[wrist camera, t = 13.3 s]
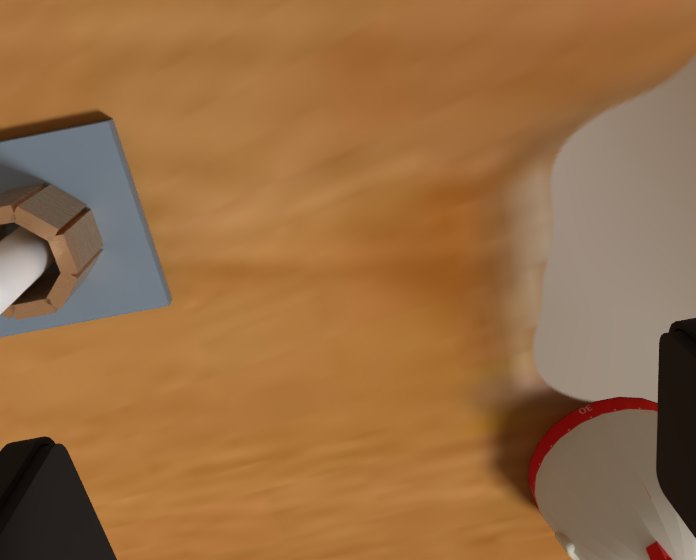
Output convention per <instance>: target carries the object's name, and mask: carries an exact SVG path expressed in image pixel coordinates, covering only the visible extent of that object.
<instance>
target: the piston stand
mask: <svg viewBox="0 0 696 560" xmlns="http://www.w3.org/2000/svg"><path fill="white" fill-rule="evenodd" d="M41 183H46V186H49V185H50V184H52V185H54V186H56V187H58V188H59V189H61V190H63V191H65V192H66V193H68V194H70V195H71V196H73V197H75V198H77V199H78V200H80V201H82V202H84V203H85V204H87V206H86V208H85V210H90V209H91V210H92V213H93V215H94V218H95V221H96V224H97V226H98V229H99V232H100V235H101V237H102V240H103V243H104V245H103V246H102V247H101V248H102V249H104V250H103V251H102V253H101V255H100V256H99V258H98V260H97V262H96V263H95V265H94V267H93V269H92V270H91V272H90V274H89V276H88V277H87V279H86V280H85V281H84V282H83V283H82V284H81V286H80V287H79V288H78V289H77V290H76V292H75V293H74V294H73V295H72V296H71V297H70V299H69V300H68V301H67V302H66V303H65V305H64V306H63V307H62V308H61V309H58V310H57V312H56V313H52V314H46V315H41V316H36V317H30V318H25V319H20V320H16V319H15V317H14V315H13V317H12V318H11V319H9V318H7V317H5V316H3V315H1V313H2V312H4V311H5V310H6V309H7V308H8V307H9V306H10V305H11V304H12V303H13V302H14V301H15V300H16V299H17V298H18V297H19V296H20V295H21V294H22V293H23V292H24V291H25V290H26V289H27V288H28V287H29V286H30V285H31V284H32V283H33V282H34V281H35V280H36V279H37V278H39V277H40V276H41V275H42V274H43V273H50V272H55V271H60V270H59V267H58V265H57V262H56V260H55V257H54V255H53V253H52V250H51V248H50V245H49V243H48V241H47V240H45V239H43V238H42V237H40V236H38V235H36V234H34V233H33V232H31V231H29V230H27V229H25V228H23V227H22V226H20V225H18V224H16V223H14V222H12V223H7V225H6V227H5V228H4V230H5V232H6V235H7V236H6V237H5V238H4V239H2V240H1V241H0V337H4V336H10V335H15V334H20V333H26V332H31V331H36V330H42V329H47V328H52V327H58V326H63V325H69V324H74V323H79V322H85V321H90V320H95V319H101V318H106V317H111V316H117V315H122V314H127V313H133V312H138V311H143V310H149V309H154V308H160V307H165V306H169V305H170V303H171V301H172V298H171V295H170V292H169V289H168V286H167V283H166V280H165V276H164V273H163V270H162V267H161V264H160V261H159V258H158V255H157V252H156V249H155V246H154V243H153V240H152V237H151V234H150V231H149V228H148V225H147V222H146V219H145V216H144V213H143V210H142V207H141V204H140V200H139V197H138V194H137V191H136V188H135V185H134V182H133V179H132V176H131V173H130V170H129V167H128V164H127V161H126V158H125V155H124V152H123V149H122V146H121V143H120V140H119V137H118V134H117V131H116V128H115V125H114V121H113V119H109V120H104V121H99V122H94V123H89V124H84V125H79V126H74V127H68V128H63V129H58V130H53V131H48V132H43V133H38V134H33V135H28V136H22V137H17V138H12V139H7V140H2V141H0V194H2V193H3V192H5V191H7V190H10V189H15V188H20V187H25V186H31V185H36V184H41Z"/></svg>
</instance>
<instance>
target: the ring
mask: <svg viewBox="0 0 696 560" xmlns="http://www.w3.org/2000/svg"><path fill="white" fill-rule="evenodd" d="M86 206H87V204H85V203H84V202H82V201H80V200H78V199H77V198H75V197H73V196H71V195H70V194H68V193H66V192H65V191H63V190H61V189H59V188H58V187H56V186H54V185H52V184H50V185H49V186H46V183H41V184H36V185H31V186H25V187H20V188H15V189H10V190H7V191H5V192H3V193H2V194H0V241H1V240H2V239H4V238H5V237H6V236H7V235H6V232H5V230H4V228H5V227H6V225H7V223H12V222H14V223H16V224H18V225H20V226H22V227H23V228H25V229H27V230H29V231H31V232H33V233H34V234H36V235H38V236H40V237H42V238H43V239H45V240H47V241H48V243H49V245H50V248H51V250H52V253H53V255H54V257H55V260H56V262H57V265H58V267H59V270H60V271H55V272H50V273H43V274H42V275H41V276H40V277H39V278H37V279H36V280H35V281H34V282H33V283H32V284H31V285H30V286H29V287H28V288H27V289H26V290H25V291H24V292H23V293H22V294H21V295H20V296H19V297H18V298H17V299H16V300H15V301H14V302H13V303H12V304H11V305H10V306H9V307H8V308H7V309H6V310H5V311H4V312H2V313H1V315H3V316H5V317H7V318H9V319H11V318H12V317H13V315H14V317H15V319H16V320H20V319H25V318H30V317H36V316H41V315H46V314H52V313H56V312H57V310H58V309H61V308H62V307H63V306H64V305H65V303H66V302H67V301H68V300H69V299H70V297H71V296H72V295H73V294H74V293H75V292H76V290H77V289H78V288H79V287H80V286H81V284H82V283H83V282H84V281H85V280H86V279H87V277H88V276H89V274H90V272H91V270H92V269H93V267H94V265H95V263H96V262H97V260H98V258H99V256H100V255H101V253H102V251H103V250H104V249H102V248H101V247H102V246H103V245H104V243H103V240H102V237H101V235H100V232H99V229H98V226H97V224H96V221H95V218H94V215H93V213H92V210H91V209H90V210H85V208H86Z"/></svg>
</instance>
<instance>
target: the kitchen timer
mask: <svg viewBox="0 0 696 560" xmlns="http://www.w3.org/2000/svg"><path fill="white" fill-rule="evenodd" d="M657 413H658V403H656V402H653V401H650V400H646V399H643V398H632V397H616V398H610V399H605V400H600V401H594V403H591V404H589V405H587V406H584V407H582V408H580V409H578V410H575V411H573V412H571V413H570V414H568V415H567V416H566V417H564V418H563V419H562V420H560V421H559V422H558V423H556V424H555V425H554V426H552V428H551V429H550V430H549V431H548V432H547V434H546V435H545V436H544V437H543V438H542V440H541V441H540V442H539V443H538V445H537V447H536V450H535V452H534V454H533V457H532V459H531V461H530V468H529V484H530V488H531V491H532V494H533V498H534V500H535V502H536V504H537V507H538V509H539V511H540V513H541V514H542V516H543V518H544V519H545V520H546V522H547V523H548V524H549V526H550V527H551V528H552V529H553V531H554V532H555V537H556V538H557V540H558V541H559V542H560V544H561V545H562V546H563V548H564V549H565V551H566V552H567V553H568V555H569V556H570V557H571V558H572V559H573V560H696V538H695V537H694V536H693V534H692V533H691V531H690V530H689V529H688V527H687V526H686V525H685V523H684V522H683V520H682V519H681V518H680V516H679V515H678V513H677V512H676V511H675V509H674V508H673V507H672V505H671V504H670V502H669V501H668V500H667V498H666V497H665V495H664V494H663V492H662V490H661V488H660V485H659V482H658V479H657V474H656V452H657Z"/></svg>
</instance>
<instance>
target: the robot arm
mask: <svg viewBox="0 0 696 560" xmlns="http://www.w3.org/2000/svg"><path fill="white" fill-rule="evenodd" d="M656 474H657V479H658V482H659V485H660V488H661V490H662V492H663V494H664V495H665V497H666V498H667V500H668V501H669V502H670V504H671V505H672V507H673V508H674V509H675V511H676V512H677V513H678V515H679V516H680V518H681V519H682V520H683V522H684V523H685V525H686V526H687V527H688V529H689V530H690V531H691V533H692V534H693V536H694V537H695V538H696V318H693V319H688V320H681V321H676V322H674V323H673V324H672V325H671V327H670V329H669V333H664V334H663V335H661V338H660V343H659V375H658V413H657V452H656ZM0 560H117V559H116V557H115V554H114V552H113V550H112V548H111V546H110V543H109V541H108V539H107V537H106V535H105V532H104V530H103V528H102V526H101V524H100V521H99V519H98V517H97V515H96V513H95V510H94V508H93V506H92V504H91V502H90V499H89V497H88V495H87V493H86V491H85V488H84V486H83V484H82V482H81V480H80V478H79V475H78V473H77V471H76V469H75V467H74V464H73V462H72V460H71V458H70V456H69V453H68V451H67V449H66V448H65V446H63V445H62V444H55V443H54V441H53V440H52V439H50V438H49V437H39V438H34V439H28V440H23V441H18V442H12V443H9V444H7V445H6V446H5V447H4V448H3V449H2V450H1V451H0Z"/></svg>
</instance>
